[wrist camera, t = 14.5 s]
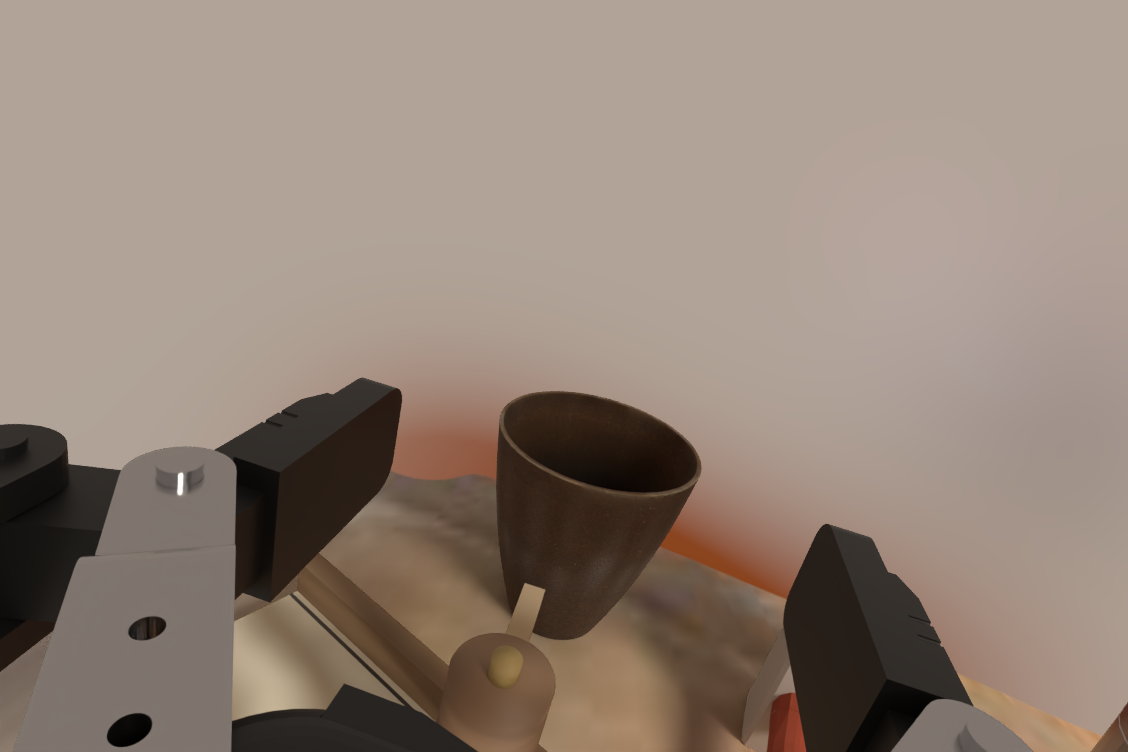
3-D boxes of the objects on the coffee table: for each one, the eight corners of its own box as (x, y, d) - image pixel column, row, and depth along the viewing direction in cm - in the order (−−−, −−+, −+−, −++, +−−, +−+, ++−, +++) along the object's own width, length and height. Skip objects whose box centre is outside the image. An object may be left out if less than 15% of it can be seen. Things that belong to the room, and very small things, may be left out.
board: (314, 598, 45) (319, 553, 44) (591, 857, 33) (610, 806, 32) (165, 674, 37) (166, 622, 36) (460, 1052, 25) (479, 996, 24)
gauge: (461, 703, 38) (500, 546, 34) (535, 729, 38) (584, 574, 33) (394, 868, 29) (435, 683, 25) (490, 904, 29) (548, 722, 24)
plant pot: (613, 719, 42) (684, 524, 36) (423, 625, 45) (462, 435, 40) (656, 591, 55) (713, 435, 50) (508, 527, 59) (545, 375, 53)
